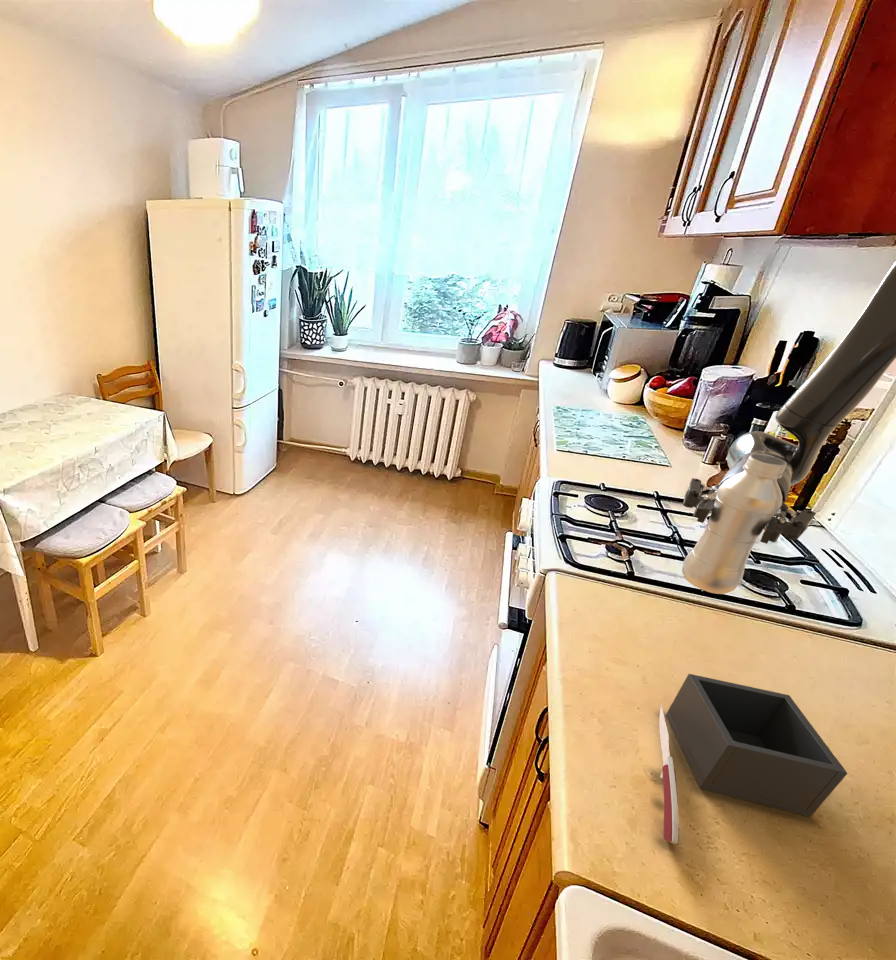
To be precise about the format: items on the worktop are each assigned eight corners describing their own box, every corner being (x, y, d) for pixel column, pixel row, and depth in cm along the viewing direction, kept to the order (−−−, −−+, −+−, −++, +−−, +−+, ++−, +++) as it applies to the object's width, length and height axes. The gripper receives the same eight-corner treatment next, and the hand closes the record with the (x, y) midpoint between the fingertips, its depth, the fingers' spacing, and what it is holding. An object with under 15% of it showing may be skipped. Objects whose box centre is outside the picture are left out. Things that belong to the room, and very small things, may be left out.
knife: (676, 856, 54) (687, 839, 53) (661, 849, 55) (672, 832, 53) (661, 715, 70) (669, 699, 68) (649, 710, 70) (657, 695, 69)
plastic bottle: (690, 595, 73) (754, 467, 64) (668, 567, 79) (724, 446, 69) (743, 603, 71) (817, 474, 62) (717, 574, 77) (781, 452, 68)
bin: (759, 737, 67) (789, 694, 63) (810, 817, 58) (848, 773, 54) (665, 715, 70) (688, 673, 66) (699, 788, 61) (728, 744, 57)
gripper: (705, 450, 82) (679, 482, 71) (833, 482, 72) (824, 523, 62) (686, 492, 85) (659, 528, 75) (806, 527, 76) (793, 574, 65)
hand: (734, 526), depth 68 cm, fingers closed on plastic bottle, 6 cm apart
